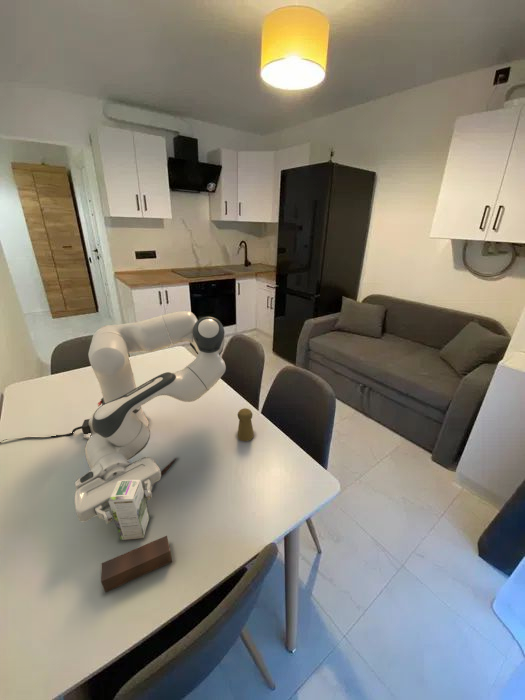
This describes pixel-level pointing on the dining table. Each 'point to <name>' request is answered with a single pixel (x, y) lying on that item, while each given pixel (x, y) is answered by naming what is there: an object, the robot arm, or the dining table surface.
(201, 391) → the robot arm
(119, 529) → the syrup box
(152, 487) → the fork
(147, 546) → the walnut block
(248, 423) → the olive brown hourglass shape
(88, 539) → the dining table surface
